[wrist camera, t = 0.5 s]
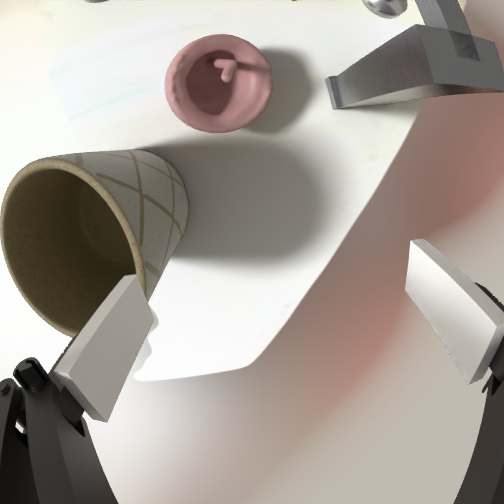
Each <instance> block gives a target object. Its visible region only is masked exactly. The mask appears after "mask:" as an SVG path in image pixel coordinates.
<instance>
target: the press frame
mask: <svg viewBox="0 0 504 504" xmlns="http://www.w3.org/2000/svg"><path fill="white" fill-rule="evenodd" d="M415 2H416V4H417V6H418V8H419V11H420V13H421V16H422V18H423V20H424V23H425V25H418V24H415V25H414V26H412V27H410V28H409V29H407V30H405V31H404V32H402V33H400V34H399V35H397V36H395V37H394V38H392V39H391V40H389V41H387V42H386V43H384V44H383V45H381V46H380V47H378V48H377V49H375V50H374V51H372V52H371V53H369V54H368V55H366V56H365V57H363V58H362V59H360V60H359V61H358V62H356V63H355V64H353V65H352V66H350V67H349V68H348V69H346V70H345V71H343V72H342V73H341V74H339V75H338V76H331V77H328V78H326V79H325V80H326V84H327V88H328V92H329V95H330V99H331V103H332V107H333V109H339V108H347V107H356V106H366V105H379V104H392V103H396V102H401V101H407V100H414V99H421V98H429V97H436V96H446V95H457V94H470V93H490V92H504V73H503V68H502V65H501V61H500V58H499V54H498V51H497V48H496V45H495V43H494V42H492V41H489V40H485V39H482V38H479V37H475V36H472V34H471V32H470V29H469V26H468V24H467V21H466V19H465V16H464V14H463V12H462V9H461V7H460V5H459V3H458V1H457V0H415Z"/></svg>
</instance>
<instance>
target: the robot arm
mask: <svg viewBox="0 0 504 504" xmlns="http://www.w3.org/2000/svg"><path fill="white" fill-rule="evenodd" d="M84 1H87V2H91V3H97V2H103V1H106V0H84ZM410 242H411V243H410V253H409V263H408V271H407V279H406V287H405V291H406V292H407V293H408V295H409V296H410V297H411V299H412V300H413V301H414V303H415V304H416V305H417V307H418V308H419V310H420V311H421V312H422V314H423V315H424V316H425V318H426V319H427V321H428V322H429V323H430V325H431V326H432V328H433V329H434V331H435V332H436V334H437V335H438V337H439V338H440V340H441V341H442V343H443V344H444V346H445V347H446V349H447V351H448V352H449V354H450V355H451V357H452V358H453V359H454V362H455V363H456V365H457V366H458V368H459V370H460V371H461V373H462V375H463V376H464V378H465V380H466V381H467V383H468V385H469V384H471V383H473V382H476V381H478V380H480V379H482V378H483V376H484V375H485V373H486V371H487V369H488V367H490V369H491V370H492V374H491V376H490V378H489V380H488V381H487V383H486V384H485V386H484V388H483V390H482V393H484V391H485V390H486V388H487V387H488V392H487V397H486V403H485V408H484V413H483V418H482V423H481V426H480V430H479V434H478V438H477V442H476V445H475V448H474V452H473V455H472V458H471V461H470V464H469V467H468V470H467V472H466V475H465V478H464V480H463V483H462V485H461V488H460V490H459V492H458V495H457V497H456V499H455V501H454V504H504V306H503V304H501V302H498V299H497V298H495V296H493V295H492V294H491V293H490V292H489V291H488V290H487V289H486V288H485V287H483V286H481V285H480V284H478V283H474V282H473V281H472V280H471V279H469V277H468V276H466V275H465V274H464V273H463V272H462V271H461V270H460V269H459V268H458V267H456V266H455V265H454V264H453V263H452V262H451V261H450V260H448V259H447V258H446V257H445V256H444V255H443V254H441V253H440V252H439V251H438V250H437V249H435V248H434V247H433V246H432V245H431V244H429V243H428V242H427V241H426V240H424V239H417V240H411V241H410ZM153 322H154V318H153V315H152V313H151V310H150V308H149V305H148V303H147V300H146V297H145V295H144V292H143V290H142V287H141V284H140V281H139V279H138V276H137V274H136V275H128V276H124V277H123V278H122V279H121V280H120V282H119V283H118V284H117V285H116V287H115V288H114V289H113V290H112V292H111V293H110V294H109V295H108V297H107V298H106V299H105V300H104V302H103V303H102V304H101V306H100V307H99V308H98V309H97V311H96V312H95V313H94V315H93V316H92V317H91V319H90V320H89V321H88V323H87V324H86V325H85V327H84V328H83V329H82V330H81V331H80V332H79V333H78V334H77V335H75V336H74V337H73V339H72V340H71V342H70V343H69V344H68V346H67V347H66V349H65V350H64V353H62V354H61V356H60V357H59V359H58V360H57V361H56V363H55V364H54V366H53V367H52V369H51V370H50V372H49V373H48V374H47V373H46V371H45V370H44V369H43V367H42V366H41V364H40V363H39V361H38V360H37V359H36V358H32V357H30V358H27V359H25V360H23V361H21V362H20V363H19V364H18V365H17V366H16V368H15V369H14V372H13V376H14V377H15V379H16V380H17V381H18V382H19V384H20V385H21V386H22V387H19V386H18V385H17V384H16V382H15V381H14V380H13V379H11V378H7V379H5V380H2V382H0V504H118V502H117V500H116V498H115V496H114V494H113V492H112V489H111V487H110V485H109V483H108V481H107V478H106V476H105V474H104V472H103V469H102V466H101V464H100V461H99V459H98V456H97V453H96V451H95V448H94V445H93V442H92V439H91V436H90V433H89V430H88V427H87V423H86V421H85V419H84V418H83V417H82V414H83V412H84V410H85V411H86V413H88V415H89V416H90V417H91V418H92V419H94V420H98V421H103V422H108V420H109V417H110V415H111V413H112V410H113V408H114V405H115V403H116V401H117V399H118V396H119V394H120V392H121V389H122V387H123V385H124V383H125V380H126V378H127V376H128V374H129V372H130V369H131V367H132V365H133V363H134V361H135V359H136V357H137V355H138V352H139V350H140V348H141V346H142V344H143V342H144V340H145V338H146V336H147V334H148V332H149V330H150V327H151V326H152V324H153ZM16 421H17V422H18V423H19V425H21V427H23V428H24V430H23V433H21V432H20V431H19V430H18V429H17V428H16V427H15V425H16Z"/></svg>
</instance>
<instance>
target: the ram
mask: <svg viewBox="0 0 504 504" xmlns="http://www.w3.org/2000/svg"><path fill="white" fill-rule="evenodd" d="M362 2H363V4H364V5H365V6H366V7H367V8H368V9H369V10H370V11H371V12H373V13H374V14H376V15H378V16H380V17H383V18H388V19H392V18H396V17H398V16H399V15H400V14H402V13H403V12H404V11H405V10H406V9H407V0H362Z"/></svg>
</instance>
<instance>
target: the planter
mask: <svg viewBox="0 0 504 504" xmlns="http://www.w3.org/2000/svg"><path fill="white" fill-rule="evenodd" d="M187 219H188V198H187V193H186V190H185V186H184V183H183V181H182V179H181V177H180V175H179V173H178V172H177V170H176V169H175V168H174V167H173V166H172V165H171V164H169V163H168V162H166V161H165V160H164V159H162V158H160V157H159V156H157V155H155V154H153V153H150V152H147V151H143V150H117V151H100V152H85V153H74V154H66V155H59V156H52V157H46V158H42V159H38V160H36V161H33V162H31V163H29V164H28V165H27V166H25V167H24V168H22V169H21V170H20V171H19V172H18V173H17V174H16V176H15V177H14V178H13V180H12V181H11V183H10V184H9V186H8V188H7V191H6V193H5V196H4V199H3V203H2V208H1V214H0V237H1V244H2V250H3V254H4V257H5V261H6V264H7V267H8V269H9V272H10V274H11V276H12V279H13V281H14V283H15V285H16V286H17V288H18V290H19V291H20V293H21V294H22V296H23V297H24V299H25V300H26V301H27V303H28V304H29V305H30V306H31V308H32V309H33V310H34V311H35V312H36V313H37V314H38V315H39V316H40V317H41V318H42V319H43V320H45V321H46V322H47V323H48V324H49V325H51V326H52V327H54V328H55V329H57V330H58V331H60V332H62V333H63V334H65V335H67V336H70V337H72V338H73V337H74V336H75V335H77V334H78V333H79V332H80V331H81V330H82V329H83V328H84V327H85V325H86V324H87V323H88V321H89V320H90V319H91V317H92V316H93V315H94V313H95V312H96V311H97V309H98V308H99V307H100V306H101V304H102V303H103V302H104V300H105V299H106V298H107V297H108V295H109V294H110V293H111V292H112V290H113V289H114V288H115V287H116V285H117V284H118V283H119V282H120V280H121V279H122V278H123V277H124V276H128V275H136V274H137V276H138V279H139V281H140V284H141V287H142V290H143V292H144V295H145V297H146V300H147V303H148V301H149V299H150V297H151V295H152V294H153V292H154V290H155V288H156V286H157V283H158V281H159V279H160V277H161V275H162V273H163V271H164V269H165V267H166V265H167V263H168V261H169V259H170V257H171V256H172V254H173V252H174V250H175V248H176V246H177V244H178V243H179V241H180V239H181V237H182V235H183V233H184V231H185V228H186V224H187Z"/></svg>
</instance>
